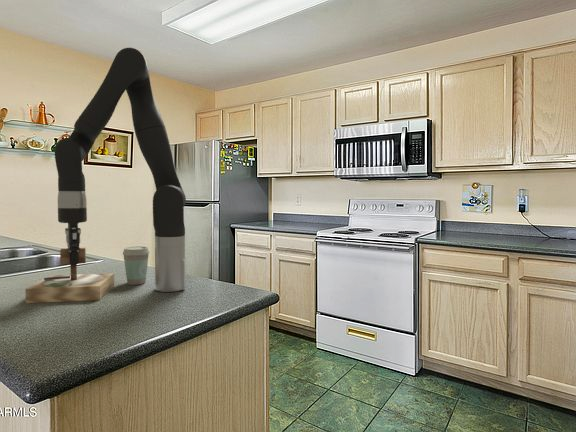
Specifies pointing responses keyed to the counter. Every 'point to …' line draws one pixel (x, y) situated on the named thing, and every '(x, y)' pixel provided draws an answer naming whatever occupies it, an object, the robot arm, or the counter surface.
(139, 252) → the coffee cup
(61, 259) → the key
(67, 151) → the robot arm
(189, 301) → the counter surface
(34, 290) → the dial board
